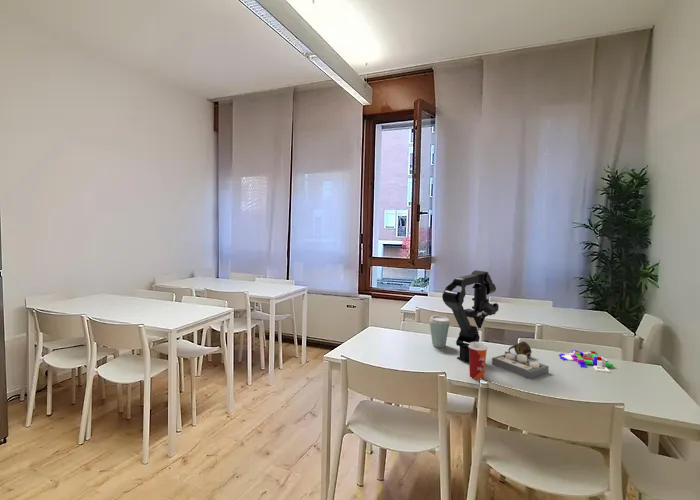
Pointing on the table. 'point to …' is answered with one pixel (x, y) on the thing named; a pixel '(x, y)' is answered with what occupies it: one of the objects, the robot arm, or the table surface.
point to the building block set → (588, 360)
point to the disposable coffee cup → (439, 330)
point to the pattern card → (514, 363)
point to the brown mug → (521, 349)
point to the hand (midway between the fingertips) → (479, 328)
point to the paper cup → (477, 359)
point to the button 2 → (534, 364)
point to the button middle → (522, 358)
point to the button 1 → (510, 356)
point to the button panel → (520, 371)
